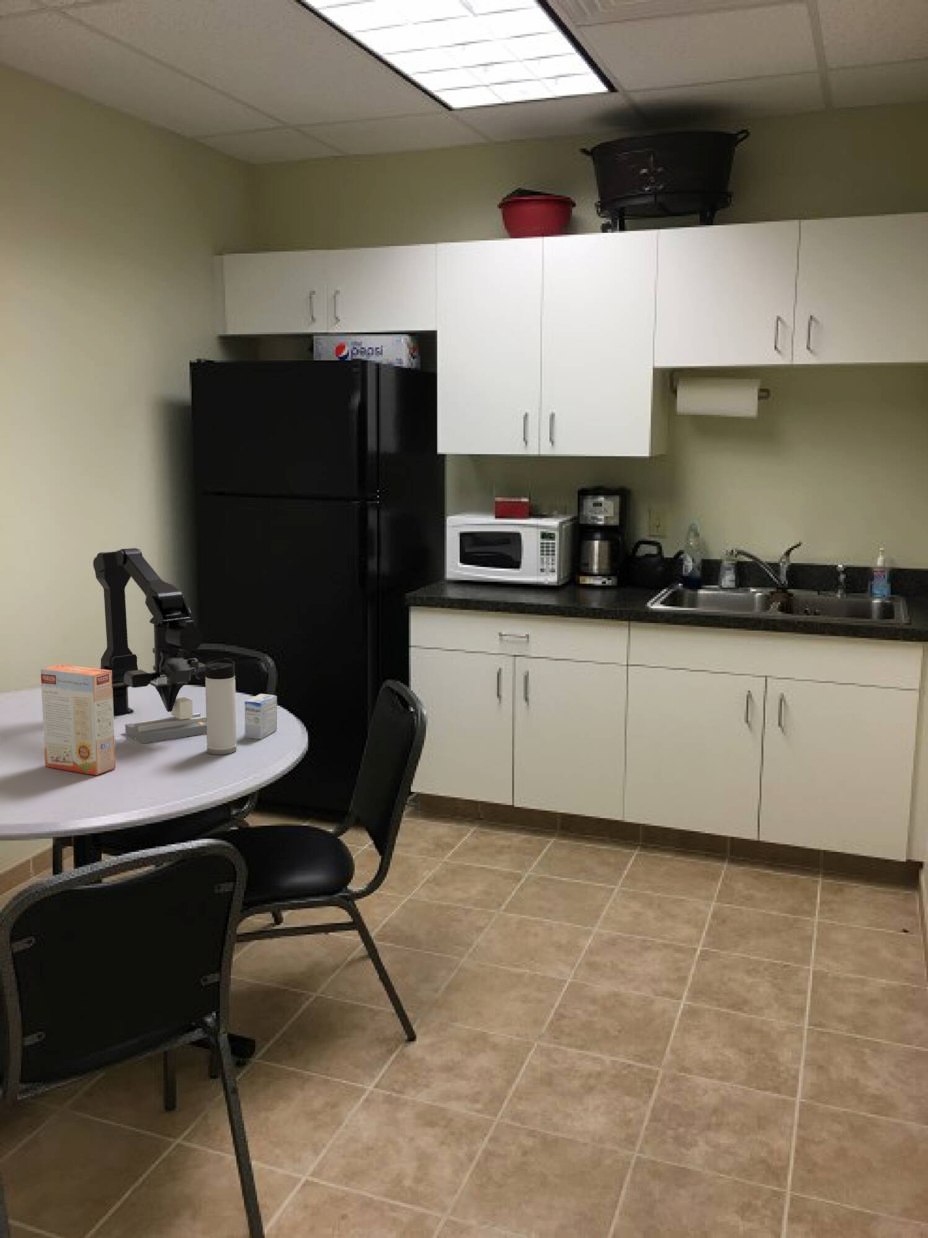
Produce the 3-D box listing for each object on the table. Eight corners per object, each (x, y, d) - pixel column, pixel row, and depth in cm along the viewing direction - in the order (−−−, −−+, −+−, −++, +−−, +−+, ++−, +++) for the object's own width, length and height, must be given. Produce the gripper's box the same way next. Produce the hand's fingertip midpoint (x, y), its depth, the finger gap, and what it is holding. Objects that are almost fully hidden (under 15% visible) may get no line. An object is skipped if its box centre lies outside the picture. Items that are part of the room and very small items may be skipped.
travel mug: (242, 748, 236) (241, 659, 232) (226, 756, 230) (224, 665, 226) (217, 745, 238) (216, 656, 234) (201, 753, 232) (199, 662, 228)
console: (125, 732, 246) (125, 720, 246) (195, 721, 257) (194, 709, 256) (143, 744, 238) (143, 730, 237) (215, 732, 248) (214, 719, 247)
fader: (171, 720, 250) (171, 698, 249) (184, 718, 251) (183, 696, 251) (180, 725, 246) (179, 702, 245) (192, 723, 248) (192, 700, 247)
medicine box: (260, 729, 251) (259, 693, 250) (277, 731, 250) (277, 694, 249) (244, 738, 244) (243, 701, 242) (262, 740, 243) (261, 702, 241)
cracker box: (117, 769, 220) (113, 669, 216) (96, 777, 214) (91, 675, 211) (66, 759, 226) (61, 662, 222) (43, 767, 220) (38, 667, 217)
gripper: (140, 655, 232) (142, 725, 234) (220, 646, 243) (222, 713, 246) (122, 646, 240) (124, 714, 243) (200, 638, 252) (201, 703, 254)
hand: (169, 711), depth 246 cm, fingers closed
